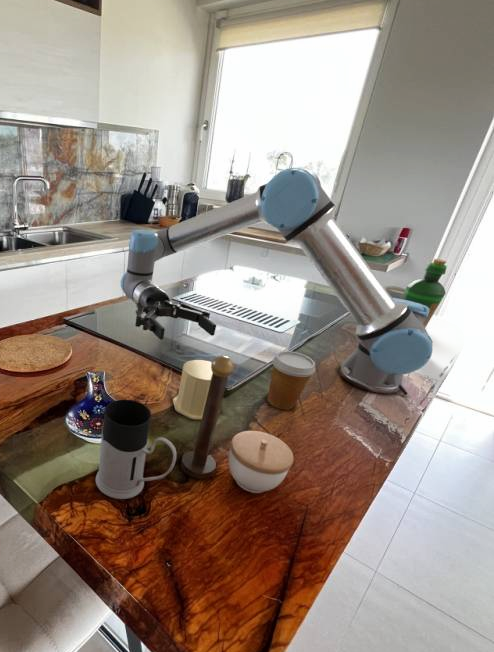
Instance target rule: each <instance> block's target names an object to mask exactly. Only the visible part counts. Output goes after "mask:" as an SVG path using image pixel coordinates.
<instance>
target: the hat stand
mask: <svg viewBox="0 0 494 652" xmlns="http://www.w3.org/2000/svg"><path fill="white" fill-rule="evenodd" d="M211 362H212V364H211V370H212V372H213V373H212V377H211V382H210V386H209V390H208V395H207V399H206V403H205V407H204V412H203V416H202V420H201V421H200V425H199V429H198V433H197V436H196V437H197V438H196V442H195V446H194V450H189V451H186V452H185V453H184V454H182V457H181V462H180V467H181V469H182V471H183V473H184V474H186V475H187V476H189V477H191V478H193V479H197V480H208V479H210V478H211V477H213V475H214V474H215V471H216V468H217V462H216V460H215V459H214V457H212V455H210V454H209V453H210V449H211V446H212V441H213V437H214V434H215V429H216V426H217V422H218V418H219V414H220V413H219V411H220V412H221V407H222V402H223V399H224V395H225V391H226V388H227V383H228V379H229V376H231V375H232V373H233V372H234V368H235V365H234V362H233V360H232V359H231V357H229V356H226V355H218V356H216V357H215V358H214V359H213V360H212V361H211Z"/></svg>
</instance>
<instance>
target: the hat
mask: <svg viewBox="0 0 494 652" xmlns="http://www.w3.org/2000/svg"><path fill="white" fill-rule="evenodd" d="M211 364H212V361H210V360H204V359H192V360H188V361H186V362H185V363H184V364H183V366H182V371H181V377H180V382H179V387H178V388H177V392H176V396H175V397H173V399H172V403H173V406H174V410H175V412H177V413H179V414H181V415H183V416H184V417H187V418H188V419H191V420H199V421H200V420H202V416H203V412H204V407H205V403H206V399H207V395H208V390H209V386H210V382H211V377H212V373H213V372H212V370H211ZM220 412H221V410H220V411H219V414H220Z"/></svg>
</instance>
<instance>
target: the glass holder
mask: <svg viewBox="0 0 494 652" xmlns="http://www.w3.org/2000/svg"><path fill="white" fill-rule="evenodd" d="M151 419H152V413H151V410H150V408H149V407H147V405H145V404H143V402H140V401H137V400H133V399H117V400H114V401H112V402H110V403H108V404H107V405H106V407H105V408H104V415H103V422H102V428H101V436H100V437H101V440H100V451H99V464H98V471H97V473H96V475H95V484H96V487H97V488H98V490H99V491H100V492H101V493H102V494H104V495H106V496H108V497H110V498H112V499H117V500H126V499H131V498H134V497H136V496H138V495H139V494H140V493H141V492H142V491H143V489H144V486H145V482H151V481H157V480H162V479H164V478H166V477H167V476H168V474H170V472H172V470H173V469H174V467H175V464H176V461H177V455H178V454H177V453H178V452H177V449H176V447H175V445H174V444H173V443H172V442H171V441H170V439H167V438H165V437H157V438H156V439H154V440H153V442H152V443H151V445H150V448H149V450H148V445H149V431H150V426H151ZM157 442H163V443H164V444H166V445H167V446H168V447H169V449H170V451H171V452H172V460H171V464H170V466H169V468H168V470H167V471H165V473H163V474H161V475H157V476H150V477H144V471H145V464H146V459H147V455H150V454H152V453H153V452H154V451H155V446H156V444H157Z"/></svg>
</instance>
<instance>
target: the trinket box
mask: <svg viewBox="0 0 494 652" xmlns="http://www.w3.org/2000/svg"><path fill="white" fill-rule="evenodd" d="M227 459H228V461H227V463H228V469H229V472H230V474H231V476H232V478H233V479H234V481H235V482H236V484H237V485H238V486H239V487H240V488H241V489H243V490H245V491H246V492H250V493H252V494H253V493H254V494H262V493H264V492H269V491H272V490H273V489H276V488H277V487H278V486H280V484H282V482H283V481H284V480H285V478H286V477H287V475H288V473H289V471H290V469H291V468H292V466H293V463H294V454H293V451H292V450H291V448H290V447H289V445H287V444H286V443H285V442H284V441H283V440H281V439H280V438H279V437H276V436H274V435H272V434H270V433H267V432H263V431H259V430H244V431H241V432H238V433H236V434H235V435H234V436H233V437H232V439H231V442H230V448H229V452H228V458H227Z"/></svg>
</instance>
